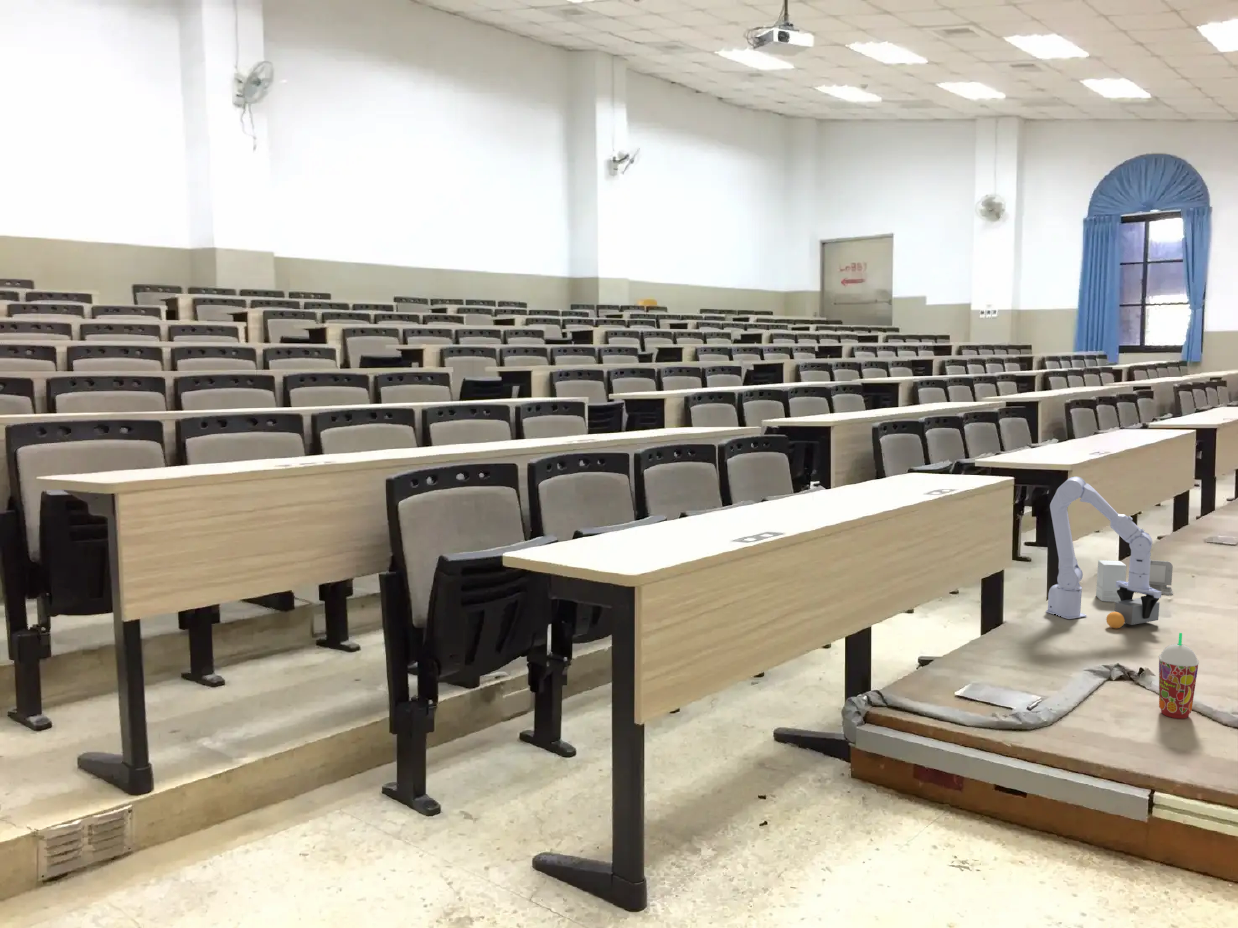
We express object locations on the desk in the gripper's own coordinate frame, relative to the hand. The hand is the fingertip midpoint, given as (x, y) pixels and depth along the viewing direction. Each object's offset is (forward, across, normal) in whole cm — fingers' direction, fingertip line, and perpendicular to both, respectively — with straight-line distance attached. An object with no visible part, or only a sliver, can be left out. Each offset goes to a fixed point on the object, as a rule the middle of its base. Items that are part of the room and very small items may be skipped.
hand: (1136, 615), depth 312 cm
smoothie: (+3, -55, +54) cm, 77 cm away
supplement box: (+3, +24, -17) cm, 30 cm away
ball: (0, 0, +9) cm, 9 cm away
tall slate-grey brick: (+2, 0, 0) cm, 2 cm away
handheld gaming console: (+3, +26, -39) cm, 47 cm away
